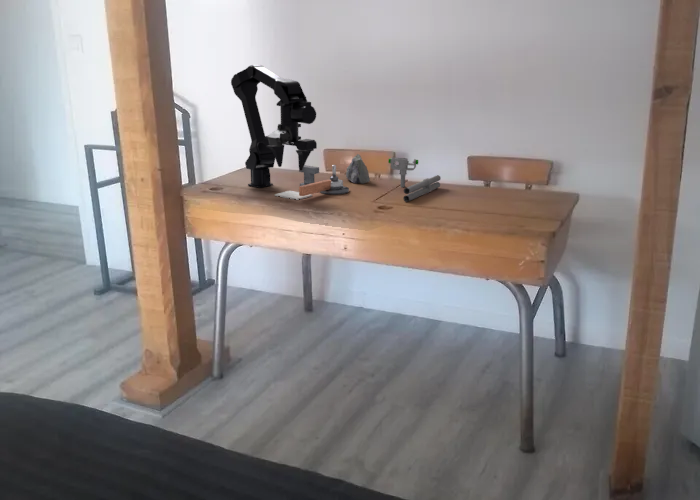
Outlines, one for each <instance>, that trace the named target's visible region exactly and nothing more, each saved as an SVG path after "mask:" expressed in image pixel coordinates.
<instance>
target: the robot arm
mask: <svg viewBox="0 0 700 500" xmlns="http://www.w3.org/2000/svg"><path fill="white" fill-rule="evenodd" d="M230 81H231V82H230V84H231V87H232V90H233V93H234V95H235V96H236V97H237V98H238V99H239V100H240V102H241V104H242V109H243V111H244V112H243V113H244V117H245V120H246V121H245V122H246V125H247V128H248V132H249V136H250V141H251V143H250V146H249V150H248V151H249V156H248V158H247V159H246V161H245V162H244V164H245V169H248V170H250V183H247V186H250V187H255V188H265V187H271V186H273V185H274V183H273V182H271V171H270V168H271V169H272V168H273V169H274V167H275V163H277V166H278V168H281V167H282V165H283V161H284V160H283V159H284V151H285V145H286V146H292V147H295V148H296V150H295V152H296V154H297V155H298V156H297V158H298V159H297V160H298V171H299V170H302V169H303V167H304V165H306V163H307V160H308V158H309V156H310V154H311V153H312V152H314V150H316V149H317V141H316V140H315V139H310V138H305V139H302V137H301V136H300V135H299V128H301V127H302V124H306V125H311V124H313V123H314V122H315V121H316V118H317V112H316V108H315V107H314V106H312V102H311V101H308V100H307V96H306V95H305V92H304V91H303V88H302V86H301V83H300V82H299V81H297V80H294V79H289V78H283V77H281V76H279V75H278V74H276V73H274V72H273V71H271V70H269V69H268V68H266V67H265V66H264V65H262V64H251V65H249V66H247V67H245V69H243V70H241V71H239V72H237V73H235V74H233V76H232V78H231V80H230ZM260 83H261V84H263V85H265V86H267V87H268V88H270V89H271V90H273V93H274V95H275V96H276V97H277V98H278V99H279V101H278V102H277V103H276V106H278V107H280V123H278V124H277V128H276V130H274V131H272V132H271V133H269V134H267V135H265V134H266V133H265V131H264V127H263V122H262V119H261V115H260V111H259V106H258V102H257V98H256V96H257V93H258V90H259V89H258V85H259V84H260Z"/></svg>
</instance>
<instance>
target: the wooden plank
mask: <svg viewBox="0 0 700 500" xmlns="http://www.w3.org/2000/svg"><path fill="white" fill-rule="evenodd" d="M331 166H332V168H331V170H332V171H331V173H332V176H330V177H329V179H323V180H320V181H316V182H315V181H314V183H311V184H307V185H303V186H300V185H299V186H298V192H299V196H306V195H310V194H311V195H313V194H316V193H320V192H321V191H325V190H339V189H343V186H344V180H342V179H339V176H338V175H337V164H332V165H331Z"/></svg>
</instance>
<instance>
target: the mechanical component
mask: <svg viewBox="0 0 700 500" xmlns="http://www.w3.org/2000/svg"><path fill="white" fill-rule="evenodd" d="M396 162H397V163H398V164H396ZM388 164H390V168H391V170H394V171H395V170H397V171H399V174H398V175H400V187H401V188H406V175H407V171H414V170H415V169H416V168H417V165H419V159H416V158H414V159H413V161H412V163H411V162H410V160H409V159H408V158H407V157H391V158H388ZM408 166H413V167H408Z"/></svg>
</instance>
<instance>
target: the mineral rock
mask: <svg viewBox="0 0 700 500" xmlns="http://www.w3.org/2000/svg"><path fill="white" fill-rule="evenodd" d="M367 167H368V166H367V165H366V163H365V162H364V161H363V158H362V157H361V155H360V153H357V154H356V155H355V156H354V157H352V159H351V162H350V164H349V165H348V166H347V168H346V172H345V177H346V179H348V180H349V181H350V182H352V183H354V184H361V185H363V184H366V183H369V182H370V180H371V178H370V174H369V170H368V168H367Z"/></svg>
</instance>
